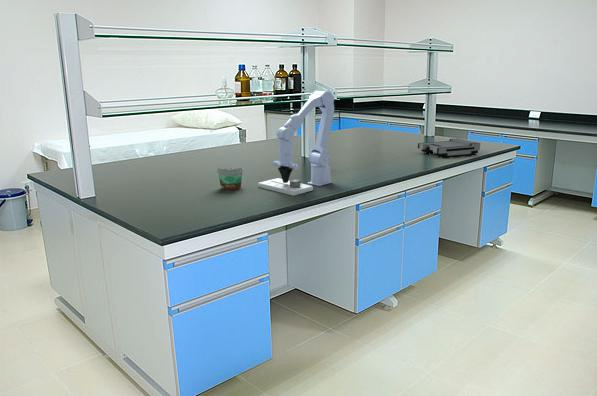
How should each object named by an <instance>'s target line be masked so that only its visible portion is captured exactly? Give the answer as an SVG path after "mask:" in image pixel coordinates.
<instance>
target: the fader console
mask: <svg viewBox="0 0 597 396" xmlns="http://www.w3.org/2000/svg"><path fill="white" fill-rule="evenodd" d="M290 181H291V180H288V182H287V183H283V180H282V178H280V177H279V178H278V177H277V178H272V179H267V180H265V181H261V182H257V183H258V184H257V186H258V187H257V188H262V189H265V190H269V191H273V192H277V193H282V194H285V195H289V196H294V197H295V196H298V195H300V194H305V193H307V192H311V191H312V192H313V191H314V186H313V185H311V184H305V183H301V186H299V187H295V188H294V187H290Z"/></svg>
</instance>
